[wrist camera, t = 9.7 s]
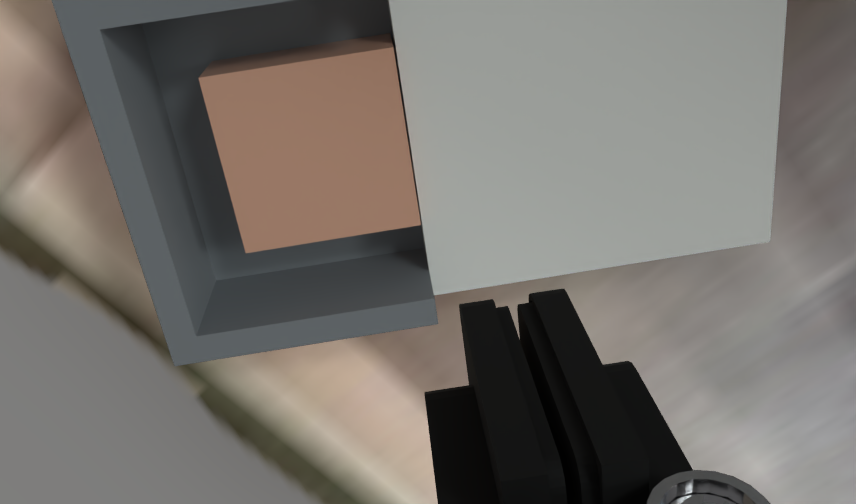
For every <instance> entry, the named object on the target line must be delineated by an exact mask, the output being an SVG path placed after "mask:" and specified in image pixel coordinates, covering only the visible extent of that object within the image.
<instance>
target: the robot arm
mask: <svg viewBox="0 0 856 504" xmlns="http://www.w3.org/2000/svg"><path fill="white" fill-rule="evenodd" d="M459 308H460V318H461V325H462V333H463V341H464V349H465V356H466V364H467V372H468V380H469V385H468V386H462V387H455V388H449V389H442V390H436V391H429V392H425V401H426V409H427V418H428V426H429V434H430V442H431V450H432V458H433V466H434V475H435V483H436V491H437V499H438V504H770V503H769V502H768V501H767V499H766V498H765V497H764V496H763V495H761V494H760V493H759V492H758V491H757V490H756V489H754V488H753V487H752V486H751V485H749V484H747V483H745V482H743V481H741V480H739V479H737V478H735V477H733V476H730V475H726V474H723V473H719V472H715V471H702V470H692V468H691V466H690V464H689V462H688V461H687V459H686V457H685V455H684V454H683V452H682V450H681V448H680V446H679V445H678V443H677V441H676V439H675V437H674V436H673V434H672V432H671V430H670V429H669V427H668V425H667V423H666V421H665V420H664V418H663V416H662V414H661V413H660V411H659V409H658V407H657V405H656V404H655V402H654V400H653V398H652V397H651V395H650V393H649V391H648V389H647V388H646V386H645V384H644V382H643V381H642V379H641V377H640V375H639V373H638V372H637V370H636V368H635V367H634V365H633V364H632V363H631V362H629V361H625V362H618V363H612V364H605V365H602V363H601V361H600V359H599V357H598V355H597V353H596V351H595V349H594V347H593V345H592V343H591V341H590V339H589V337H588V335H587V333H586V331H585V329H584V327H583V324H582V322H581V320H580V318H579V316H578V314H577V312H576V310H575V308H574V306H573V304H572V302H571V300H570V298H569V296H568V294H567V292H566V291H565V289H557V290H550V291H544V292H537V293H531V294H529V303H525V304H518V309H517V310H518V322H519V333H520V340H519V337H518V334H517V331H516V328H515V325H514V322H513V319H512V316H511V313H510V310H509V308H508V306H505V307H498V308H496V306H495V303H494V300H493V299H491V300H485V301H478V302H471V303H465V304H459Z"/></svg>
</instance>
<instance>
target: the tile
mask: <svg viewBox="0 0 856 504" xmlns="http://www.w3.org/2000/svg"><path fill="white" fill-rule="evenodd" d="M198 79H199V82H200V86H201V90H202V94H203V97H204V101H205V105H206V108H207V112H208V116H209V119H210V123H211V127H212V130H213V134H214V138H215V142H216V145H217V149H218V153H219V156H220V160H221V164H222V167H223V171H224V175H225V179H226V182H227V186H228V190H229V193H230V197H231V201H232V204H233V208H234V212H235V215H236V219H237V223H238V227H239V230H240V234H241V238H242V241H243V245H244V249H245V252H246V253H251V252H257V251H263V250H270V249H276V248H282V247H288V246H294V245H301V244H307V243H313V242H319V241H325V240H332V239H338V238H344V237H350V236H356V235H363V234H369V233H375V232H381V231H387V230H394V229H400V228H406V227H412V226H418V225H421V222H420V215H419V209H418V203H417V196H416V190H415V183H414V177H413V170H412V164H411V157H410V151H409V144H408V138H407V132H406V125H405V119H404V112H403V106H402V99H401V93H400V86H399V80H398V73H397V67H396V61H395V54H394V48H393V43H392V39H391V35H390V33H388V34H381V35H375V36H369V37H362V38H356V39H350V40H343V41H337V42H330V43H324V44H318V45H311V46H305V47H298V48H292V49H286V50H279V51H273V52H267V53H260V54H254V55H247V56H241V57H235V58H228V59H222V60H216V61H212V62H211V63H210V64H209V65H208V67H207V68H206V69H205V70H204V71H203V73H202V74H201V75H200V76H199V78H198Z"/></svg>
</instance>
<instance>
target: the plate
mask: <svg viewBox="0 0 856 504" xmlns="http://www.w3.org/2000/svg"><path fill="white" fill-rule="evenodd" d="M388 7H389V13H390V20H391V27H392V33H393V40H394V47H395V53H396V60H397V67H398V73H399V80H400V87H401V93H402V100H403V107H404V113H405V120H406V127H407V133H408V140H409V147H410V153H411V160H412V166H413V173H414V180H415V186H416V193H417V200H418V206H419V213H420V220H421V226H422V233H423V240H424V246H425V252H426V257H427V262H428V267H429V273H430V278H431V283H432V288H433V293H434V295H440V294H446V293H452V292H459V291H465V290H471V289H478V288H484V287H490V286H496V285H503V284H509V283H515V282H521V281H528V280H534V279H540V278H547V277H553V276H559V275H565V274H572V273H578V272H584V271H590V270H597V269H603V268H609V267H615V266H622V265H628V264H634V263H641V262H647V261H653V260H659V259H666V258H672V257H678V256H684V255H691V254H697V253H703V252H710V251H716V250H722V249H728V248H735V247H741V246H747V245H753V244H760V243H766V242H770V236H771V222H772V208H773V194H774V180H775V166H776V151H777V137H778V123H779V109H780V95H781V81H782V67H783V53H784V39H785V25H786V11H787V0H388Z"/></svg>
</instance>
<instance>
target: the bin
mask: <svg viewBox="0 0 856 504" xmlns="http://www.w3.org/2000/svg"><path fill="white" fill-rule="evenodd" d="M52 3H53V6H54V9H55V12H56V15H57V18H58V21H59V24H60V27H61V30H62V33H63V36H64V38H65V41H66V44H67V47H68V50H69V53H70V56H71V59H72V62H73V65H74V68H75V71H76V74H77V77H78V80H79V83H80V86H81V89H82V92H83V95H84V98H85V101H86V104H87V107H88V110H89V113H90V116H91V119H92V122H93V125H94V128H95V131H96V134H97V137H98V140H99V143H100V146H101V149H102V152H103V155H104V158H105V161H106V164H107V166H108V169H109V172H110V175H111V178H112V181H113V184H114V187H115V190H116V193H117V196H118V199H119V202H120V205H121V208H122V211H123V214H124V217H125V220H126V223H127V226H128V229H129V232H130V235H131V238H132V241H133V244H134V247H135V250H136V253H137V256H138V259H139V262H140V265H141V268H142V271H143V274H144V277H145V280H146V283H147V286H148V289H149V292H150V295H151V297H152V300H153V303H154V306H155V309H156V312H157V315H158V318H159V321H160V324H161V327H162V330H163V333H164V336H165V339H166V342H167V345H168V348H169V351H170V354H171V357H172V360H173V363H174V366H179V365H185V364H191V363H198V362H204V361H210V360H216V359H223V358H229V357H235V356H241V355H247V354H254V353H260V352H266V351H272V350H279V349H285V348H291V347H297V346H304V345H310V344H316V343H322V342H329V341H335V340H341V339H347V338H354V337H360V336H366V335H372V334H379V333H385V332H391V331H397V330H404V329H410V328H416V327H422V326H428V325H435V324H438V318H437V312H436V305H435V298H434V293H433V288H432V283H431V278H430V273H429V267H428V262H427V257H426V252H425V246H424V240H423V233H422V226H421V225H418V226H412V227H406V228H400V229H394V230H387V231H381V232H375V233H369V234H363V235H356V236H350V237H344V238H338V239H332V240H325V241H319V242H313V243H307V244H301V245H294V246H288V247H282V248H276V249H270V250H263V251H257V252H251V253H246V252H245V249H244V245H243V241H242V238H241V234H240V230H239V227H238V223H237V219H236V215H235V212H234V208H233V204H232V201H231V197H230V193H229V190H228V186H227V182H226V179H225V175H224V171H223V167H222V164H221V160H220V156H219V153H218V149H217V145H216V142H215V138H214V134H213V130H212V127H211V123H210V119H209V116H208V112H207V108H206V105H205V101H204V97H203V94H202V90H201V86H200V82H199V79H198V78H199V76H200V75H201V74H202V73H203V71H204V70H205V69H206V68H207V67H208V65H209V64H210V63H211V62H212V61H216V60H222V59H228V58H235V57H241V56H247V55H254V54H260V53H267V52H273V51H279V50H286V49H292V48H298V47H305V46H311V45H318V44H324V43H330V42H337V41H343V40H350V39H356V38H362V37H369V36H375V35H381V34H388V33H390V35H391V39H392V43H393V48H394V54H395V61H396V67H397V60H396V53H395V47H394V40H393V33H392V27H391V20H390V13H389V7H388V0H52ZM397 73H398V67H397ZM398 80H399V73H398ZM399 86H400V80H399ZM400 93H401V87H400ZM401 99H402V93H401ZM402 106H403V100H402ZM403 112H404V107H403ZM404 119H405V113H404ZM405 125H406V120H405ZM406 132H407V127H406ZM407 138H408V133H407ZM408 144H409V140H408ZM409 151H410V147H409ZM410 157H411V153H410ZM411 164H412V160H411ZM412 170H413V166H412ZM413 177H414V173H413ZM414 183H415V180H414ZM415 190H416V186H415ZM416 196H417V193H416ZM417 203H418V200H417ZM418 209H419V206H418ZM419 215H420V213H419ZM420 222H421V220H420Z"/></svg>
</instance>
